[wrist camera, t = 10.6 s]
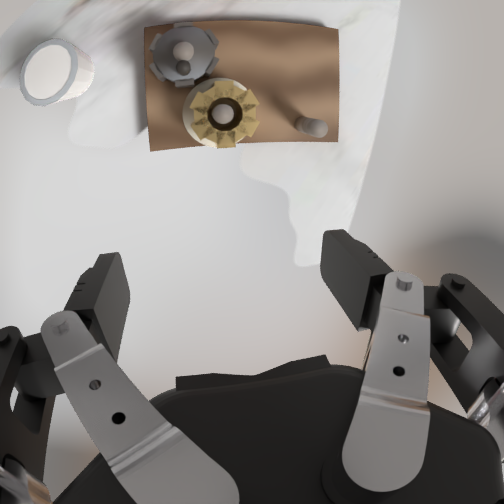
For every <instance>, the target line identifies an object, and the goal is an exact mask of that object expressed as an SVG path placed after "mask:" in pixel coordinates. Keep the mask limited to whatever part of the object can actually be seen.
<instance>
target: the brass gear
mask: <svg viewBox="0 0 504 504" xmlns="http://www.w3.org/2000/svg"><path fill="white" fill-rule="evenodd" d="M218 98H226V99H228V100H230V101H232V102H233V103H234V105H235V106H236V108H237V117H236V119H235V121H234V122H233V123H232V124H231V125H229V126H228V127H224V128H217V127H215V126H213V125H211V124H210V123H209V121H208V116H207V110H208V109H209V107H210V105H211V103H212V102H214V101H215V100H217V99H218ZM257 105H259V102H258V100H257V99H256V97H255V96H254V94H253V92H252V91H251V89H248V90H242V89H240V88H238V87H236V86H234V80H232V81H214V83H213V84H212V88H211V89H209V90H207V91H206V92H204V93H201V92H198V93H197V94H196V96H195V98H194V100H193V102H192V104H191V105H190V107H189V108H191V109H193V110H194V122H192V123H191V125H190V126H191V128H192V129H193V131H194V132H195V133H196V135H197V136H198V138H199V139H200V141H201V140H202V139H204V138H206V139H208V140H210V141H213V142H215V145H216V147H217V148H229V147H235V146H236V145H235V142H237V141H238V140H240V139H242V138H243V137H245V136H247V135H248V136H250V137H252V135H253V134H254V132H255V130H256V128H257V126H258V125H259V123H260V122H259V121H257V120H256V106H257Z"/></svg>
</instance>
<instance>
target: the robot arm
mask: <svg viewBox="0 0 504 504" xmlns="http://www.w3.org/2000/svg"><path fill="white" fill-rule="evenodd" d="M320 269H321V275H322V278H323V280H324V282H325V283H326V285H327V286H328V288H329V289H330V291H331V292H332V294H333V295H334V297H335V298H336V299H337V301H338V303H339V304H340V305H341V307H342V308H343V310H344V312H345V313H346V314H347V316H348V318H349V319H350V321H351V322H352V324H353V325H354V327H355V328H356V330H357V331H358V332H359V331H363V330H367V329H370V330H371V334H370V338H369V342H368V345H367V349H366V353H365V356H364V360H363V364H362V367H361V369H358V368H354V367H351V366H344V365H330V363H329V361H328V359H327V357H326V355H321V356H316V357H311V358H306V359H301V360H296V361H291V362H288V363H286V364H283V365H281V366H278V367H276V368H273V369H271V370H268V371H266V372H263V373H260V374H258V375H252V376H249V375H232V374H218V373H210V374H201V375H191V376H180V377H176V388H174V389H171V390H168V391H166V392H164V393H161V394H159V395H158V396H156V397H154V398H152V399H151V400H149V401H148V400H147V399H146V398H145V397H144V395H143V394H142V393H141V392H140V391H139V390H138V389H137V387H136V386H135V385H134V384H133V383H132V381H130V379H129V378H128V377H127V375H126V374H125V373H124V372H123V371H122V369H121V368H120V367H119V366H118V364H117V359H118V354H119V349H120V344H121V339H122V334H123V330H124V325H125V321H126V315H127V312H128V307H129V304H130V290H129V286H128V282H127V278H126V275H125V271H124V267H123V263H122V259H121V256H120V254H119V253H118V252H115V253H107V254H100V255H99V257H98V259H97V261H96V263H95V265H94V266H93V268H89V269H88V270H86V271H85V272H84V273H83V274H82V275H81V276H80V278H79V280H78V282H77V285H76V286H75V288H74V290H73V292H72V294H71V296H70V298H69V300H68V302H67V304H66V306H65V308H64V310H63V311H60V312H57V313H55V314H53V315H51V316H50V317H48V318H47V319H46V320H45V321H44V323H43V325H42V326H41V332H40V333H37V334H34V335H30V336H27V337H23V336H22V334H21V332H20V330H19V329H18V328H17V327H14V326H8V327H5V328H2V329H0V504H504V482H503V474H502V463H504V314H503V313H502V312H501V311H500V310H499V309H498V308H497V307H496V306H495V305H494V304H493V303H492V302H491V301H490V300H489V299H488V298H487V297H486V296H485V295H484V294H483V293H482V292H481V291H480V290H479V289H478V288H477V287H475V286H474V285H473V284H472V283H471V282H470V281H469V280H468V279H466V278H464V277H463V276H460V275H457V274H450V273H449V274H445V275H443V276H442V278H441V281H440V284H439V286H423V283H422V281H421V280H420V279H419V278H418V277H416V276H415V275H413V274H411V273H408V272H403V271H393V270H392V269H391V268H390V267H389V266H388V265H387V264H386V263H385V262H384V261H383V260H382V259H381V258H379V257H378V255H377V254H376V253H374V252H373V251H372V250H371V249H370V248H369V247H368V246H367V245H366V244H364V243H362V242H360V241H358V240H355V239H353V238H352V237H351V236H350V235H349V234H348V233H347V232H346V231H345V230H344V229H339V230H328V231H325V232H324V234H323V242H322V253H321V264H320ZM461 322H462V324H463V325H464V326H465V327H466V328H467V329H468V331H469V332H470V333H471V335H472V339H473V344H472V347H471V349H470V351H469V350H468V349H467V348H466V346H465V345H464V344H463V343H462V341H461V340H460V339H459V338H458V336H457V335H456V332H457V330H458V328H459V326H460V323H461ZM430 358H431V359H432V361H433V362H434V364H435V365H436V366H437V368H438V369H439V371H440V372H441V374H442V375H443V377H444V379H445V380H446V382H447V383H448V385H449V386H450V388H451V389H452V391H453V392H454V394H455V395H456V397H457V399H458V400H459V402H460V404H461V405H462V407H463V408H464V410H465V412H466V413H467V418H465V417H462V416H460V415H457V414H455V413H453V412H451V411H449V410H446V409H444V408H442V407H440V406H437V405H435V404H433V403H431V402H429V401H427V393H428V381H429V364H430ZM13 387H15V388H16V389H17V391H18V392H19V393H18V396H17V399H16V403H15V406H14V410H13V412H12V410H11V406H10V397H11V393H12V390H13ZM63 393H66V395H67V397H68V399H69V401H70V403H71V404H72V406H73V408H74V410H75V412H76V413H77V415H78V417H79V419H80V420H81V422H82V424H83V425H84V427H85V429H86V430H87V432H88V433H89V435H90V437H91V438H92V440H93V442H94V443H95V445H96V446H97V448H98V449H99V451H100V453H99V454H98V455H97V456H96V457H95V458H94V460H92V461H91V462H90V463H89V465H88V466H87V467H86V468H85V469H84V470H83V471H82V472H81V473H80V474H79V475H78V476H77V477H76V478H75V479H74V481H73V482H72V483H71V484H70V485H69V486H68V487H67V488H66V489H65V490H64V491H63V492H62V493H61V494H60V495H59V496H58V497H57V498H56V499H55V501H54V502H52V501H51V498H50V493H49V490H48V488H47V486H46V485H45V484H44V483H43V475H44V465H45V456H46V448H47V441H48V434H49V428H50V423H51V417H52V412H53V407H54V402H55V397H56V395H59V394H63Z"/></svg>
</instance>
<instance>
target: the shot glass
mask: <svg viewBox="0 0 504 504" xmlns="http://www.w3.org/2000/svg"><path fill="white" fill-rule="evenodd" d="M94 73H95V72H94V64H93V62H92V60H91V58H90V57H89V56H87V55H86V54H84V53H83V52H82V51H80V50H79V49H77V48H76V47H75V46H73V45H72V44H70V43H69V42H67V41H65V40H63V39H50V40H48V41H45V42H43V43H41V44H39V45H38V46H37V47H36V48H35V49H34V50H33V51H31V52H30V54H29V55H28V57H27V59H26V60H25V62H24V64H23V66H22V70H21V74H20V90H21V92H22V94H23V96H24V98H25V99H26V100H27V101H29V102H30V103H31V104H33V105H38V106H46V105H50V104H53V103H56V102H60V101H64V100H67V99H71V98H74V97H77V96H80V95H81V94H82V93H84V92H85V91H86V90H87V89H88V87H89V86H90V84H91V83H92V80H93V77H94Z"/></svg>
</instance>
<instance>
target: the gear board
mask: <svg viewBox="0 0 504 504" xmlns="http://www.w3.org/2000/svg"><path fill="white" fill-rule="evenodd" d="M144 58H145V87H146V105H147V119H148V132H149V143H150V151H158V150H167V149H175V148H185V147H195V146H210V147H216V145H215V142H213V141H210V140H208V139H206V138H204V139H202V140H201V141H200V139H199V138H198V136H197V135H196V133H195V132H194V131H193V129H192V128H191V126H190V125H191V123H192V122H194V110H193V109H191V108H189V107H190V105H191V104H192V102H193V100H194V98H195V96H196V94H197V93H198V92H201V93H204V92H206V91H207V90H209V89H211V88H212V84H213V83H214V81H232V80H234V86H236V87H238V88H240V89H242V90H248V89H251V91H252V92H253V94H254V96H255V97H256V99H257V100H258V102H259V105H257V106H256V120H257V121H259V122H260V123H259V125H258V126H257V128H256V130H255V132H254V134H253V135H252V137H250V136H248V135H247V136H245V137H243V138H242V139H240V140H238V141H237V142H235V143H256V142H338V129H339V34H338V29H334V28H328V27H321V26H314V25H306V24H297V23H287V22H274V21H251V20H221V21H199V22H193V21H190V22H179V23H174V24H166V25H158V26H151V27H145V28H144ZM207 116H208V121H209V123H210V124H211V125H213V126H215V127H217V128H224V127H228V126H229V125H231V124H232V123H233V122H234V121H235V119H236V117H237V108H236V106H235V105H234V103H233V102H232V101H230V100H228V99H226V98H218V99H217V100H215V101H214V102H212V103H211V105H210V107H209V109H208V110H207Z"/></svg>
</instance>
